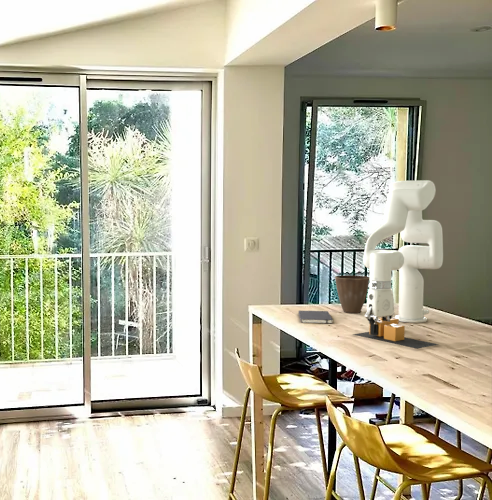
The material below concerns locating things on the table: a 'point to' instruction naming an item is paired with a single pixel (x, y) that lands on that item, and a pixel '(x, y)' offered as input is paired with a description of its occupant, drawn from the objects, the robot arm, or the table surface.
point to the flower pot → (352, 292)
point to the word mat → (406, 342)
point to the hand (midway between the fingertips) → (379, 333)
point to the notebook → (315, 317)
